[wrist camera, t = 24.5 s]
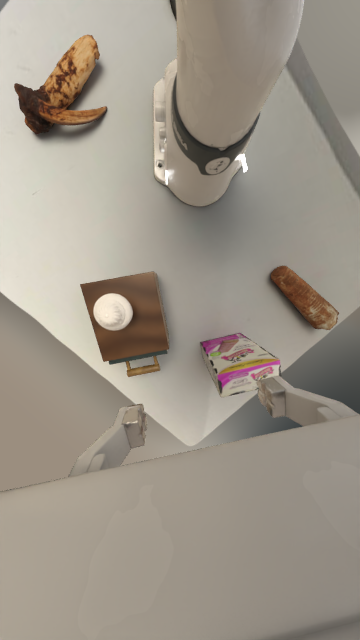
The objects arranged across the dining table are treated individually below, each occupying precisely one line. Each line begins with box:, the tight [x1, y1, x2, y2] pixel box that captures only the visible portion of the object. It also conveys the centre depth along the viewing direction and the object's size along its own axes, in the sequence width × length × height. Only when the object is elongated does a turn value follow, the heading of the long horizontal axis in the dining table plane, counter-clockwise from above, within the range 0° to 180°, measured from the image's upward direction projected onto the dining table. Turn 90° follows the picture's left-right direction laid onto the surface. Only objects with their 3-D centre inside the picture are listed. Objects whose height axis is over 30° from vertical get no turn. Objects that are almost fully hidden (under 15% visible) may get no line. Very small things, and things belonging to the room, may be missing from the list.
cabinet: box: [80, 272, 169, 362], centre depth 36 cm, size 15×13×10 cm
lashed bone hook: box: [14, 35, 107, 134], centre depth 30 cm, size 9×5×18 cm
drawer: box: [109, 350, 167, 377], centre depth 37 cm, size 18×12×8 cm, turn 10°
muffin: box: [93, 293, 133, 331], centre depth 28 cm, size 6×6×7 cm
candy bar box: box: [200, 333, 281, 397], centre depth 37 cm, size 11×5×16 cm, turn 103°
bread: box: [271, 266, 339, 330], centre depth 41 cm, size 6×19×6 cm, turn 47°
